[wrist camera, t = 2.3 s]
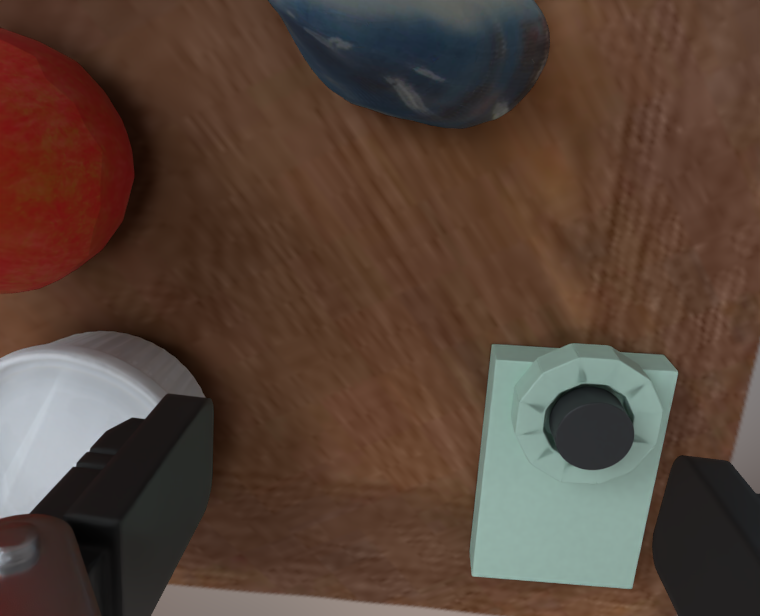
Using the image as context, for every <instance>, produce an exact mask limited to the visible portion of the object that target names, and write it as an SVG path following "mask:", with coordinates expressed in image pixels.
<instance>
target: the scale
mask: <svg viewBox="0 0 760 616" xmlns="http://www.w3.org/2000/svg"><path fill="white" fill-rule="evenodd" d="M677 376H678V371H677V370H676V368H675V367H674V366H673V365H672V364H671V363H670V361H669V360H668V359H667V358H666V357H665V355H658V354H642V353H626V352H619V351H617V350H616V349H614V348H613V347H611V346H608V345H593V344H577V343H572V344H568V345H566V346H564V347H561V348H548V347H532V346H516V345H501V344H492V347H491V356H490V366H489V375H488V384H487V394H486V403H485V412H484V422H483V431H482V440H481V449H480V459H479V468H478V477H477V487H476V496H475V505H474V515H473V524H472V533H471V543H470V561H471V572H472V576H476V577H488V578H501V579H513V580H525V581H538V582H550V583H563V584H575V585H588V586H600V587H612V588H625V589H632V586H633V582H634V577H635V572H636V568H637V563H638V558H639V554H640V549H641V544H642V540H643V535H644V530H645V526H646V521H647V516H648V512H649V507H650V502H651V498H652V493H653V488H654V484H655V479H656V474H657V470H658V465H659V460H660V455H661V451H662V446H663V441H664V437H665V432H666V427H667V423H668V418H669V413H670V409H671V404H672V399H673V395H674V390H675V385H676V381H677ZM587 386H589V387H598V388H602V389H605V390H607V391H609V392H611V393H612V394H613V395H615V396H616V397H617V398H618V400H619V401H620V403H621V404H622V406H623V408H624V409H625V411H626V413H627V414H628V416H629V418H630V420H631V421H632V424H633V427H634V440H633V444H632V446H631V449H630V450H629V452H628V453H627V455H626V456H625V457H624V458H623V459H622V460H621V461H619V462H618V463H616V464H615V465H613V466H610V467H608V468H605V469H600V470H584V469H580V468H577V467H575V466H573V465H571V464H569V463H568V462H567V461H565V460H564V459H563V458H562V456H561V455H560V453H559V452H558V450H557V447H556V444H555V441H554V439H553V436H552V433H551V430H550V426H549V417H550V413H551V410H552V408H553V406H554V404H555V403H556V402H557V400H558V399H559V398H560V397H561V396H563V395H564V394H565V393H567V392H569V391H571V390H573V389H576V388H580V387H587Z"/></svg>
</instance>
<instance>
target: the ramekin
mask: <svg viewBox="0 0 760 616" xmlns="http://www.w3.org/2000/svg"><path fill="white" fill-rule="evenodd" d="M168 393H170V394H179V395H187V396H196V397H204V398H206V397H205V396H204V394H203V392H202V389H201V387H200V386H199V384H198V383H197V381H196V380H195V378H194V376H193V375H192V374H191V373H190V372H189V371H188V369H187V368H186V367H185V366H184V365H183V364H181V363H180V362H179V360H178V359H177V358H176V357H174V356H173V355H171V354H170V353H168V352H167V351H166V350H165V349H163V348H161V347H159V346H157V345H155V344H154V343H152V342H149V341H146V340H144V339H142V338H140V337H137V336H133V335H130V334H127V333H119V332H115V331H96V332H85V333H82V334H75V335H72V336H69V337H66V338H62V339H59V340H57V341H54V342H51V343H48V344H45V345H37V346H32V347H28V348H24V349H21V350H18V351H15V352H12V353H10V354H8V355H6V356H4V357H2V358H0V519H1V518H4V517H8V516H14V515H20V514H29V513H30V512H31V511H32V510H33V509H34V508H35V507H36V506H37V505H38V504H39V502H40V501H41V500H42V499H43V498H44V497H45V496H46V495H47V494H48V493H49V492H50V491H51V490H52V489H53V487H54V486H55V485H56V484H57V483H58V482H59V481H60V480H61V479H62V478H63V477H64V476H65V475H66V474H67V472H68V471H69V470H70V469H71V468H72V467H76V464H77V462H78V461H79V460H80V459H81V457H82V456H83V455H84V454H85V453H86V452H89V451H90V448H91V447H92V446H93V445H94V443H95V442H96V441H97V440H98V439H99V438H100V437H101V436H102V435H103V434H104V433H105V432H106V431H107V430H109V429H111V428H113V427H115V426H117V425H118V424H120V423H122V422H124V421H126V420H128V419H130V418H132V417H133V418H141V419H145V418H146V417H147V416H148V415H149V414H150V412H151V411H152V410H153V409H154V408H155V407H156V405H157V404H158V403H159V402H160V401H161V399H162V398H163V397H164V396H165V395H166V394H168Z"/></svg>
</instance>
